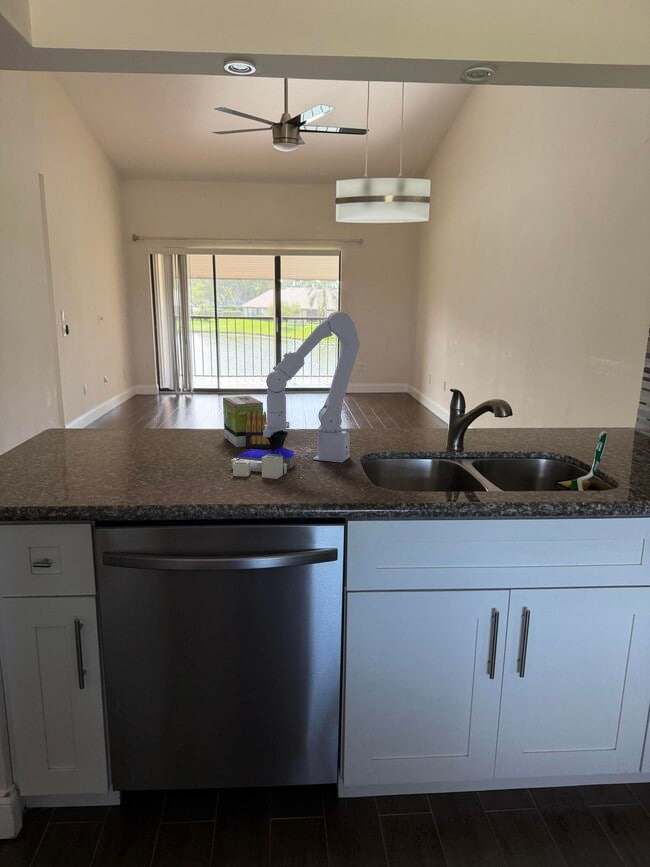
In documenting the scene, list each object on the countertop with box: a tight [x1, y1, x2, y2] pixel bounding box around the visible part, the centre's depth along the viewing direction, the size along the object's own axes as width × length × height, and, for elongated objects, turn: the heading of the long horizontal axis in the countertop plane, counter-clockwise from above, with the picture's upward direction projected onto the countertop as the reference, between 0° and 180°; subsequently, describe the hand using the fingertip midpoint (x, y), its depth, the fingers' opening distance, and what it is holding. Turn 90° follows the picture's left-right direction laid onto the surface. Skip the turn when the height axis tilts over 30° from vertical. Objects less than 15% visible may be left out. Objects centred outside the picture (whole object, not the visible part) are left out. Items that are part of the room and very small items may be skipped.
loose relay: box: [232, 461, 251, 477], centre depth 160 cm, size 4×3×4 cm
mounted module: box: [261, 454, 284, 480], centre depth 159 cm, size 4×4×6 cm
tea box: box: [222, 395, 264, 448], centre depth 198 cm, size 15×10×15 cm, turn 25°
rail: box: [230, 457, 288, 476], centre depth 164 cm, size 16×2×3 cm, turn 70°
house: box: [237, 447, 295, 470], centre depth 170 cm, size 11×15×5 cm
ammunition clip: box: [244, 410, 271, 449], centre depth 191 cm, size 11×2×12 cm, turn 91°
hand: (277, 455), depth 177 cm, fingers closed
